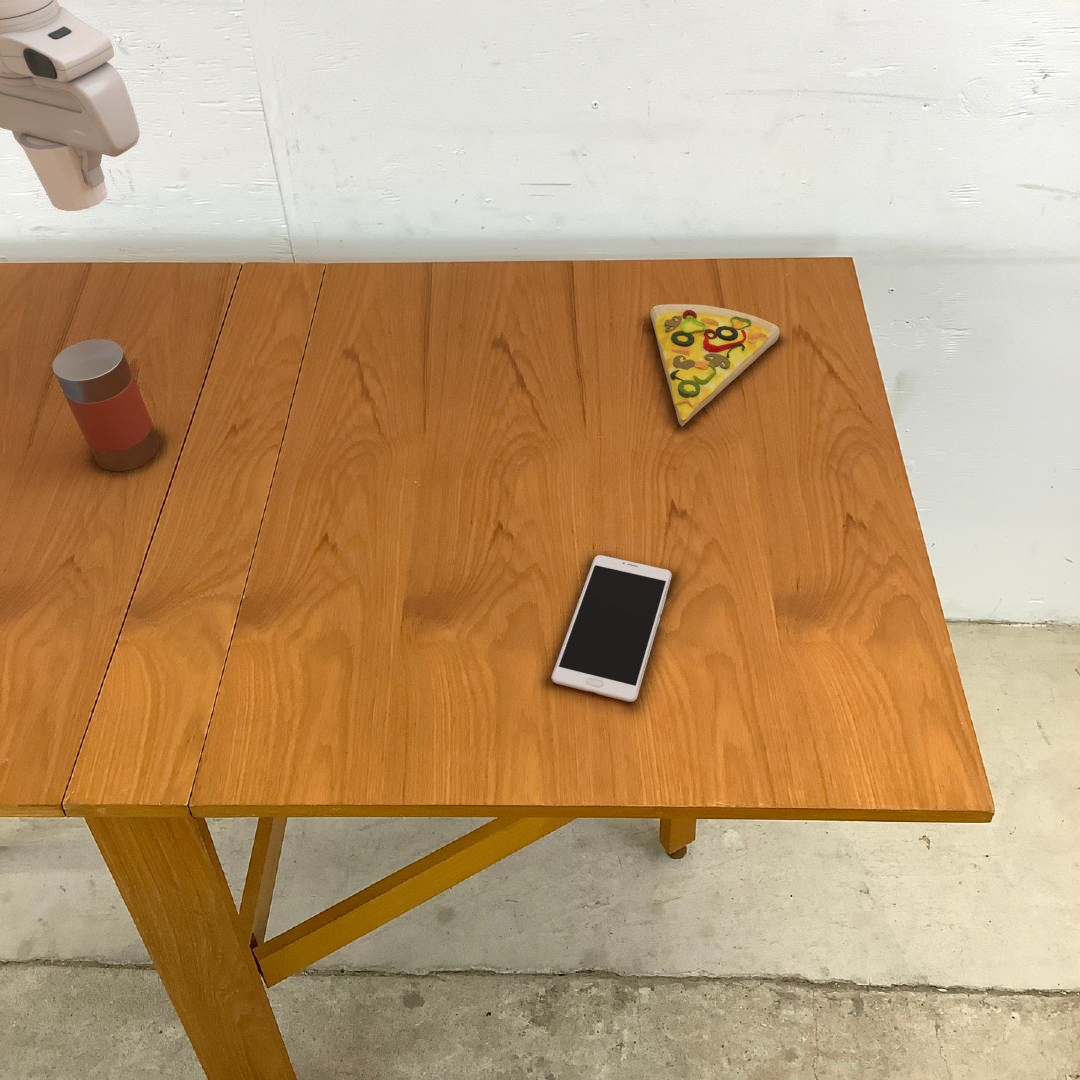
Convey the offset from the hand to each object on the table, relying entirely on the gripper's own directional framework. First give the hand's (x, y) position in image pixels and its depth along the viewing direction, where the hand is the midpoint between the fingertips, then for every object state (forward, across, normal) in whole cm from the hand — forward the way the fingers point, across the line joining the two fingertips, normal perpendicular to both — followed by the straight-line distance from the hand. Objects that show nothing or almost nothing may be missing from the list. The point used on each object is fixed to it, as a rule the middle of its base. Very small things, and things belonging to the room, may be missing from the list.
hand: (71, 176), depth 101 cm
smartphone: (+21, +68, -14) cm, 73 cm away
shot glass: (+2, 0, 0) cm, 3 cm away
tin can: (+21, +12, -15) cm, 28 cm away
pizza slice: (+21, +62, +24) cm, 70 cm away
